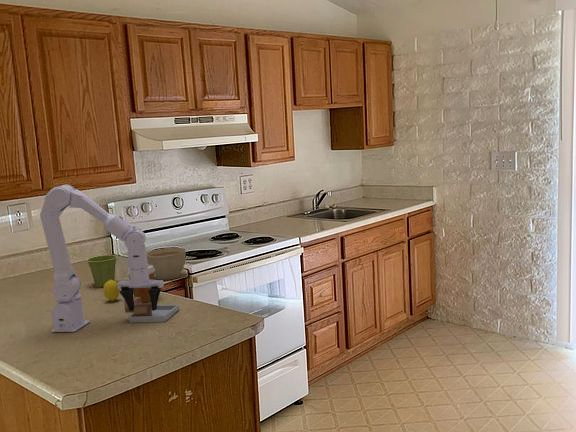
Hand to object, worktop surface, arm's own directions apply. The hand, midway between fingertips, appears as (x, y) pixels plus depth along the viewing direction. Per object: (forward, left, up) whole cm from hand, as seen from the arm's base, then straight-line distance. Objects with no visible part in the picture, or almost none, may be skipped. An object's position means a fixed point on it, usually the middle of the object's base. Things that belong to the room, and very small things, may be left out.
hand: (143, 309), depth 181 cm
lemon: (+20, +21, -3) cm, 30 cm away
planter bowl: (+54, +13, -3) cm, 55 cm away
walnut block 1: (+10, +8, -3) cm, 13 cm away
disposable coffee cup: (+20, +9, -3) cm, 23 cm away
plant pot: (+44, +36, -3) cm, 57 cm away
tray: (+2, -3, -3) cm, 5 cm away
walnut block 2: (0, 0, -2) cm, 3 cm away
